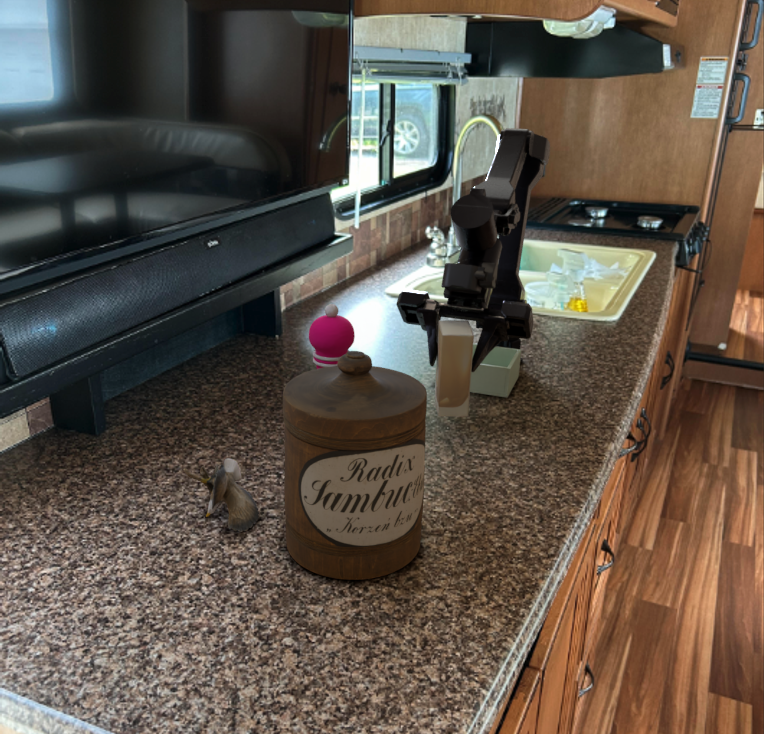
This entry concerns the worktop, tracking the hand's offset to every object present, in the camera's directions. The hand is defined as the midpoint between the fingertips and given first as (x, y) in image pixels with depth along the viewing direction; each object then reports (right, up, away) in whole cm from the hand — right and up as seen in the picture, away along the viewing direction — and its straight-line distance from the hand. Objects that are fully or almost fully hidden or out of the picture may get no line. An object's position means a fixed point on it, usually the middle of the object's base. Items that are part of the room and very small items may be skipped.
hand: (451, 368), depth 105 cm
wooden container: (-13, -21, -20) cm, 32 cm away
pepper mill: (-16, -11, +2) cm, 20 cm away
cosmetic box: (0, -6, +4) cm, 7 cm away
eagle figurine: (-28, -18, -16) cm, 37 cm away
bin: (+7, -1, +25) cm, 26 cm away
